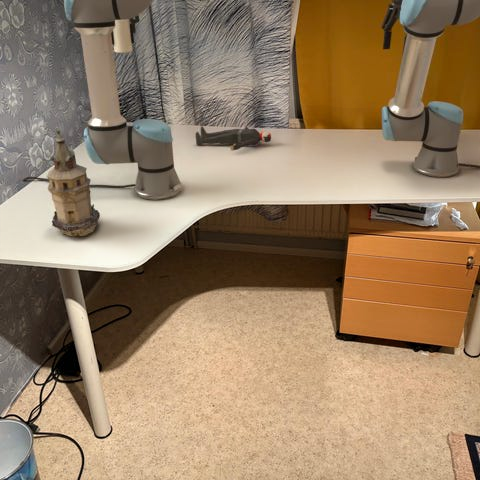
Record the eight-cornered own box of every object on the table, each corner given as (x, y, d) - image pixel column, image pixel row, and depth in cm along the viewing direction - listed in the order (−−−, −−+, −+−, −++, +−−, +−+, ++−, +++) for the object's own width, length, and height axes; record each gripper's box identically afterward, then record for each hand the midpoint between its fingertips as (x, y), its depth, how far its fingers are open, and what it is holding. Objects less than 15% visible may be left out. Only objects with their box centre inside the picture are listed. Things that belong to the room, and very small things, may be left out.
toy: (206, 120, 229) (275, 120, 223) (207, 134, 232) (276, 134, 226) (189, 139, 207) (265, 140, 201) (190, 155, 210) (266, 156, 204)
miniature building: (80, 214, 164) (63, 117, 149) (111, 225, 157) (96, 125, 142) (44, 231, 154) (22, 130, 140) (75, 244, 147) (55, 139, 133)
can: (118, 49, 206) (115, 17, 201) (135, 49, 205) (131, 18, 200) (111, 52, 201) (107, 20, 195) (128, 52, 199) (124, 20, 194)
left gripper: (140, -27, 196) (146, 39, 207) (85, -25, 190) (94, 43, 202) (144, -26, 190) (150, 43, 201) (87, -24, 184) (96, 46, 196)
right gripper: (376, -12, 203) (370, 47, 214) (414, -6, 183) (406, 58, 193) (393, -12, 205) (386, 46, 216) (433, -7, 185) (423, 57, 195)
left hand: (122, 43), depth 201 cm, fingers closed on can, 7 cm apart
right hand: (395, 52), depth 204 cm, fingers open, 13 cm apart
